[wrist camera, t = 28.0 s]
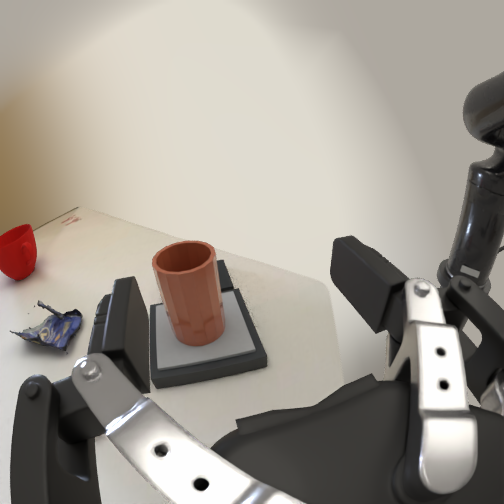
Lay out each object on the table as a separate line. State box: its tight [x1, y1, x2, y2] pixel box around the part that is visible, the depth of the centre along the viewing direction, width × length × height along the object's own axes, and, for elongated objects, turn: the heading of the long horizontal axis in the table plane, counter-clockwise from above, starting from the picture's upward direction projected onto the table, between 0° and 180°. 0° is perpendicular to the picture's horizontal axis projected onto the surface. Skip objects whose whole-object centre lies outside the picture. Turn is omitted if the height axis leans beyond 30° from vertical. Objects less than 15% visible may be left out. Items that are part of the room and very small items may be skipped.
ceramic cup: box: [0, 224, 37, 280], centre depth 46 cm, size 13×17×10 cm
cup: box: [152, 241, 226, 346], centre depth 30 cm, size 6×6×10 cm
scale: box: [150, 288, 267, 389], centre depth 33 cm, size 13×13×2 cm
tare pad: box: [217, 260, 234, 292], centre depth 43 cm, size 10×8×3 cm
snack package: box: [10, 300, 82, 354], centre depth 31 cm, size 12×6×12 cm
